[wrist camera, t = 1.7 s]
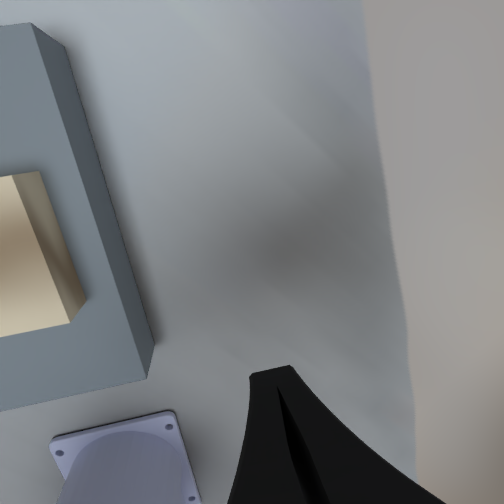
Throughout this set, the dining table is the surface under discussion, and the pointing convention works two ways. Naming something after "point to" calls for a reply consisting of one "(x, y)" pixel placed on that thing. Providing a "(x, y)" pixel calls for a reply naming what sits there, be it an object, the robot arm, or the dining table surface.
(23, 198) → the birch tile
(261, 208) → the dining table surface
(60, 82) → the bench plate
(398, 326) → the dining table surface
